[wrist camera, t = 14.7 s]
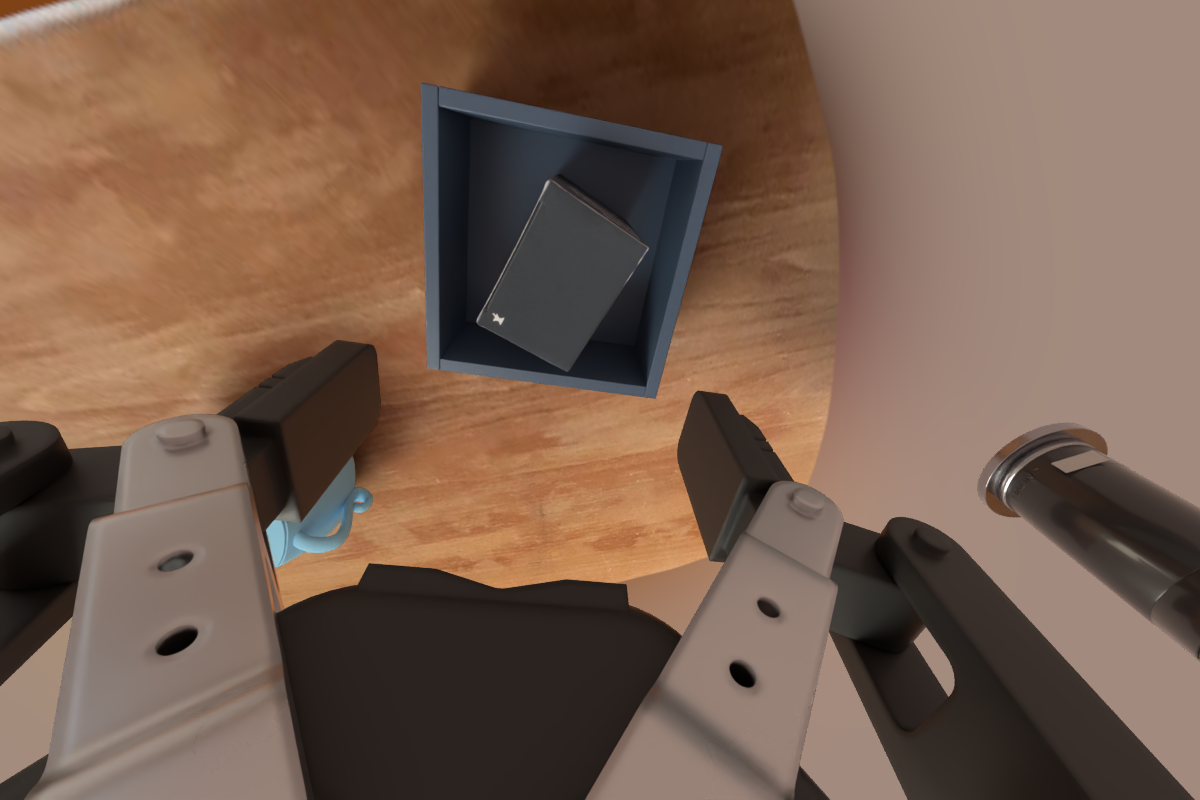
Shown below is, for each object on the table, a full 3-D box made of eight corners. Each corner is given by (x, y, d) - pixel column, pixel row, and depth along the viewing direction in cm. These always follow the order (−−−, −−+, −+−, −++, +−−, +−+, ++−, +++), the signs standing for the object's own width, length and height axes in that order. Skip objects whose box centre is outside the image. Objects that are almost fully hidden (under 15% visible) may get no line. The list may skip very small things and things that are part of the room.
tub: (689, 148, 28) (723, 145, 21) (641, 353, 35) (655, 399, 28) (460, 101, 26) (420, 81, 20) (456, 326, 33) (426, 368, 27)
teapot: (324, 370, 35) (217, 445, 25) (410, 501, 41) (352, 603, 31) (193, 412, 37) (43, 499, 27) (295, 533, 43) (204, 640, 33)
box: (571, 314, 33) (567, 376, 23) (502, 274, 31) (470, 323, 22) (629, 220, 29) (652, 248, 20) (557, 169, 28) (547, 174, 19)
